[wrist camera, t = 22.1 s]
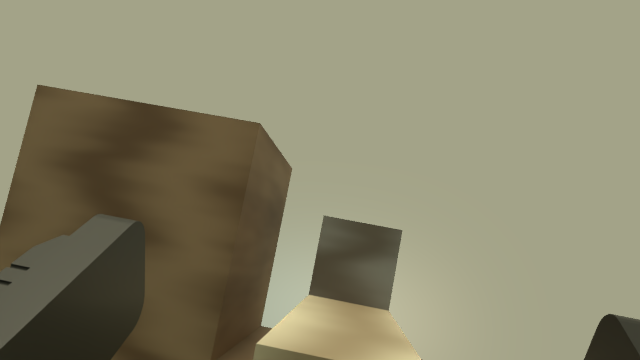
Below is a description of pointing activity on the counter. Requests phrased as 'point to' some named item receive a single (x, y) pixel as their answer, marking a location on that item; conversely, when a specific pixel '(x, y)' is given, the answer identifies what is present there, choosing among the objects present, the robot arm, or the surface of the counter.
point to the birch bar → (344, 301)
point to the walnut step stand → (159, 212)
